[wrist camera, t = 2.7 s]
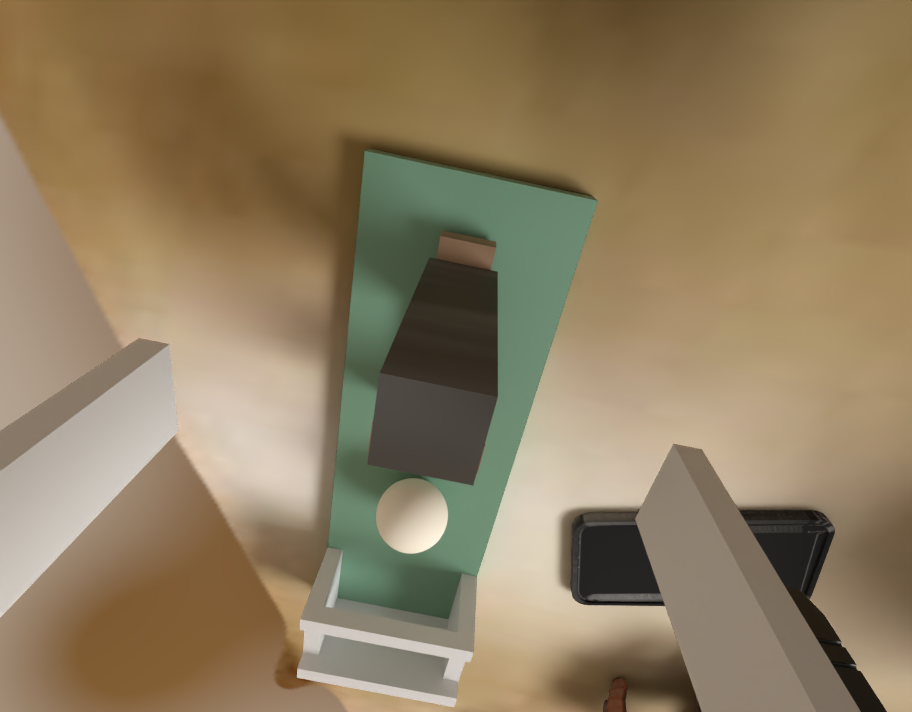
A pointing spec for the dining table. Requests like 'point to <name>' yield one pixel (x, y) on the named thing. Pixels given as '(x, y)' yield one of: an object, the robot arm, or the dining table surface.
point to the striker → (442, 368)
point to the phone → (630, 572)
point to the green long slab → (469, 507)
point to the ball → (411, 515)
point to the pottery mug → (623, 698)
